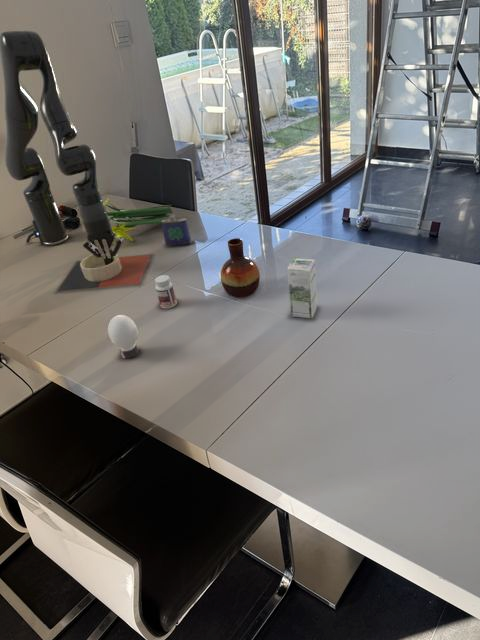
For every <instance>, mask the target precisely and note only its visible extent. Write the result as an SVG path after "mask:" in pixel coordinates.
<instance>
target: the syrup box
mask: <svg viewBox="0 0 480 640" xmlns="http://www.w3.org/2000/svg"><path fill="white" fill-rule="evenodd" d="M286 269H287V270H286V271H287V281H288V292H289V295H288V296H289V306H290V316H291V318H300V319H309V320H312V319H313V318H314V315H315V313H316V311H317V308H318V304H317V303H318V302H317V281H316V280H317V279H316V260H315V259H308V258H292V260H291V261H290V262H289V265H288V267H287V268H286Z"/></svg>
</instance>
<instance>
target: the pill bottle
mask: <svg viewBox="0 0 480 640" xmlns="http://www.w3.org/2000/svg"><path fill="white" fill-rule="evenodd" d="M154 283H155V291H156V295H157V297H158V302H159V305H160V307H161V308H162V309H171V308H173V307H176V305H177V304H178V302H177V297H176V294H175V289H174V286H173V283H172V282H171V279H170V276H169V275H166V274H162V275H159V276H157V277H155V278H154Z"/></svg>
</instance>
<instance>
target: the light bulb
mask: <svg viewBox="0 0 480 640" xmlns="http://www.w3.org/2000/svg"><path fill="white" fill-rule="evenodd" d="M107 334H108V337H109V339H110V340H111V342H112V344H114V345H115V346H116V347H118V348H119V352H120V354H121V358H122V359H130V358H134V357H136V356H137V355H138V354H139V348H138V347H137V340H138V335H139V332H138V327H137V325H136V323H135V322H134V320H133V319H132V318H130V317H129V316H127V315H125V314H118V315H115V316H114V317H112V318H111V319H110V321H109V323H108V325H107Z"/></svg>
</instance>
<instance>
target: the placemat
mask: <svg viewBox="0 0 480 640" xmlns="http://www.w3.org/2000/svg"><path fill="white" fill-rule="evenodd" d="M151 257H152V254H144V255H133V256H123V257H119V260H120V263H121V267H122V270H121V272H120V273H119V274H118V275H116V276H115V277H113V278H111V279H108V280H104V281H97V282H94V281H89V280H87V279H86V278H85V277H84V274H83V272H82V269H81V266H80V263H81V261H82V260H80V261H79V260H78V261H77V262H76V263H75V264H74V266H73V267H72V269H71V270H70V272H69V273H68V275H66V278H65V279H64V281H63V282H62V284H61V285H60V286H59V288H58V290H57V292H64V291H75V290H77V291H78V290H86V289H87V290H88V289H99V288H110V287H118V286H119V287H120V286H122V287H123V286H133V285H134V286H135V285H139V284H140V282H141V281H142V278H143V276H144V273H145V271H146V269H147V266H148V263H149V261H150V259H151Z"/></svg>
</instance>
